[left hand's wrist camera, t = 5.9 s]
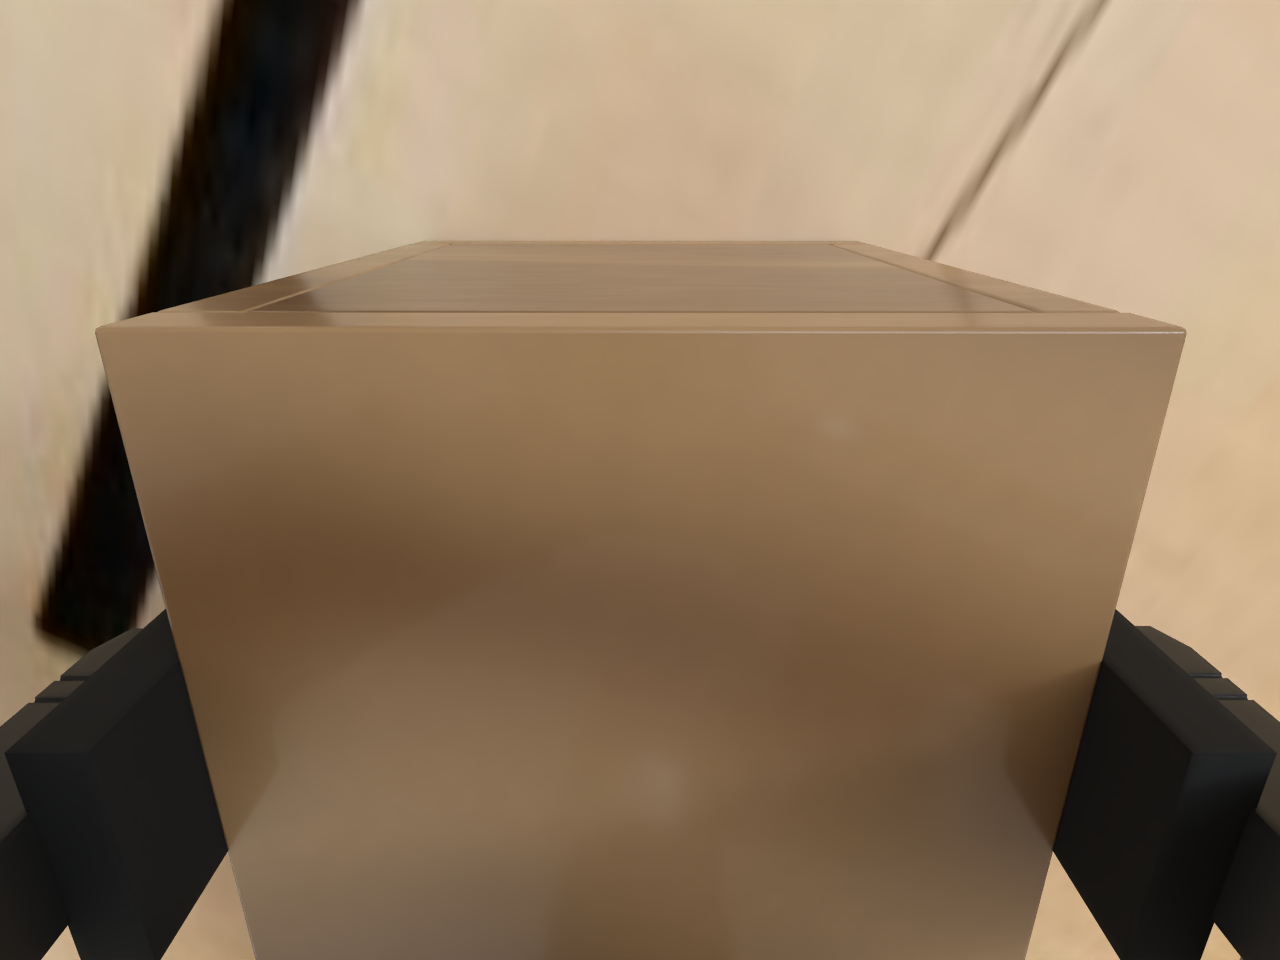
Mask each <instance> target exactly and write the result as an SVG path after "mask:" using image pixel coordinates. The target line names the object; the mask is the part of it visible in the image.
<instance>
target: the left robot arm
mask: <svg viewBox="0 0 1280 960" xmlns="http://www.w3.org/2000/svg"><path fill="white" fill-rule="evenodd" d="M227 852H228V849H227V845H226V841H225V837H224V833H223V829H222V825H221V821H220V817H219V813H218V810H217V806H216V802H215V798H214V794H213V790H212V786H211V782H210V778H209V774H208V771H207V767H206V763H205V759H204V755H203V751H202V747H201V743H200V739H199V735H198V732H197V728H196V724H195V720H194V716H193V712H192V708H191V704H190V700H189V696H188V693H187V689H186V685H185V681H184V677H183V673H182V669H181V665H180V661H179V658H178V654H177V650H176V646H175V642H174V638H173V634H172V630H171V626H170V622H169V619H168V615H167V611H166V609H165V610H164V611H163V612H161V613H160V614H159V615H158V616H157V617H156V618H155V619H154V620H153V621H151V622H150V623H149V624H148V625H147V626H146V627H145V628H144V629H130V630H128V631H126V632H124V633H123V634H121V635H119V636H117V637H115V638H113V639H111V640H109V641H107V642H106V643H104V644H102V645H100V646H98V647H96V648H94V649H92V650H91V651H89V652H88V653H87V654H86V655H85V656H84V657H82V658H81V659H80V660H79V661H78V662H76V663H75V664H74V665H73V666H72V667H71V668H69V669H68V670H67V671H66V672H65V673H63V674H62V675H61V679H60V681H54V682H53V683H52V684H50V685H49V686H48V687H47V688H46V689H45V690H43V691H42V692H41V693H40V694H39V695H37V696H36V697H35V702H34V703H28V704H27V705H26V706H24V707H23V708H22V709H21V710H20V711H19V712H17V713H16V714H15V715H14V716H13V717H11V718H10V719H9V720H8V721H7V722H6V723H4V724H3V725H2V726H1V727H0V960H41V959H42V958H43V957H44V955H45V954H46V953H47V951H48V950H49V949H50V948H51V946H52V945H53V944H54V942H55V941H56V940H57V938H58V937H59V936H60V935H61V933H62V932H63V931H64V929H65V928H66V927H67V926H68V927H69V929H70V932H71V935H72V937H73V940H74V943H75V945H76V948H77V951H78V954H79V956H80V959H81V960H161V958H162V957H163V955H164V953H165V952H166V950H167V948H168V947H169V945H170V944H171V942H172V940H173V939H174V937H175V936H176V934H177V932H178V931H179V929H180V927H181V926H182V924H183V923H184V921H185V919H186V918H187V916H188V915H189V913H190V911H191V910H192V908H193V906H194V905H195V903H196V902H197V900H198V898H199V897H200V895H201V894H202V892H203V890H204V889H205V887H206V885H207V884H208V882H209V881H210V879H211V877H212V876H213V874H214V873H215V871H216V869H217V868H218V866H219V864H220V863H221V861H222V860H223V858H224V856H225V855H226V853H227ZM1053 852H1054V853H1055V855H1056V857H1057V858H1058V860H1059V862H1060V863H1061V865H1062V866H1063V868H1064V870H1065V871H1066V873H1067V874H1068V876H1069V878H1070V879H1071V881H1072V882H1073V884H1074V886H1075V887H1076V889H1077V891H1078V892H1079V894H1080V895H1081V897H1082V899H1083V900H1084V902H1085V903H1086V905H1087V907H1088V908H1089V910H1090V912H1091V913H1092V915H1093V916H1094V918H1095V920H1096V921H1097V923H1098V924H1099V926H1100V928H1101V929H1102V931H1103V933H1104V934H1105V936H1106V937H1107V939H1108V941H1109V942H1110V944H1111V945H1112V947H1113V949H1114V950H1115V952H1116V954H1117V955H1118V957H1119V958H1120V960H1200V959H1201V957H1202V954H1203V951H1204V949H1205V946H1206V943H1207V940H1208V938H1209V935H1210V932H1211V930H1212V927H1213V924H1214V923H1215V924H1216V925H1217V926H1218V928H1219V929H1220V930H1221V932H1222V933H1223V934H1224V935H1225V937H1226V938H1227V939H1228V941H1229V942H1230V943H1231V944H1232V946H1233V947H1234V948H1235V950H1236V951H1237V952H1238V953H1239V955H1240V956H1241V958H1240V960H1280V722H1279V721H1278V720H1277V719H1275V718H1274V717H1273V716H1272V715H1271V714H1269V713H1268V712H1267V711H1266V710H1265V709H1263V708H1262V707H1261V706H1260V705H1259V704H1257V703H1256V702H1255V701H1254V700H1248V699H1247V694H1246V693H1244V692H1243V691H1242V690H1241V689H1240V688H1238V687H1237V686H1236V685H1235V684H1234V683H1232V682H1231V681H1230V680H1229V679H1228V678H1222V676H1221V672H1219V671H1218V670H1217V669H1216V668H1215V667H1213V666H1212V665H1211V664H1210V663H1209V662H1207V661H1206V660H1205V659H1204V658H1203V657H1202V656H1200V655H1199V654H1198V653H1197V652H1196V651H1194V650H1193V649H1192V648H1191V647H1189V646H1187V645H1185V644H1183V643H1181V642H1179V641H1177V640H1175V639H1174V638H1172V637H1170V636H1168V635H1166V634H1164V633H1162V632H1160V631H1158V630H1156V629H1155V628H1153V627H1151V626H1134V625H1133V624H1132V623H1131V622H1130V621H1128V620H1127V619H1126V618H1125V617H1124V616H1123V615H1122V614H1121V613H1119V612H1118V611H1117V610H1116V609H1115V612H1114V616H1113V620H1112V624H1111V628H1110V632H1109V635H1108V639H1107V643H1106V647H1105V651H1104V655H1103V659H1102V663H1101V666H1100V670H1099V674H1098V678H1097V682H1096V686H1095V690H1094V693H1093V697H1092V701H1091V705H1090V709H1089V713H1088V717H1087V721H1086V724H1085V728H1084V732H1083V736H1082V740H1081V744H1080V748H1079V752H1078V755H1077V759H1076V763H1075V767H1074V771H1073V775H1072V779H1071V783H1070V786H1069V790H1068V794H1067V798H1066V802H1065V806H1064V810H1063V814H1062V817H1061V821H1060V825H1059V829H1058V833H1057V837H1056V841H1055V844H1054V848H1053Z"/></svg>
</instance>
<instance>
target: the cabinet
mask: <svg viewBox="0 0 1280 960" xmlns="http://www.w3.org/2000/svg"><path fill="white" fill-rule="evenodd" d="M95 334H96V338H97V342H98V346H99V350H100V353H101V357H102V361H103V365H104V369H105V373H106V377H107V381H108V385H109V389H110V392H111V396H112V400H113V404H114V408H115V412H116V416H117V420H118V424H119V428H120V431H121V435H122V439H123V443H124V447H125V451H126V455H127V459H128V463H129V467H130V470H131V474H132V478H133V482H134V486H135V490H136V494H137V498H138V502H139V506H140V509H141V513H142V517H143V521H144V525H145V529H146V533H147V537H148V541H149V544H150V548H151V552H152V556H153V560H154V564H155V568H156V572H157V576H158V580H159V583H160V587H161V591H162V595H163V599H164V603H165V607H166V611H167V615H168V619H169V622H170V626H171V630H172V634H173V638H174V642H175V646H176V650H177V654H178V658H179V661H180V665H181V669H182V673H183V677H184V681H185V685H186V689H187V693H188V696H189V700H190V704H191V708H192V712H193V716H194V720H195V724H196V728H197V732H198V735H199V739H200V743H201V747H202V751H203V755H204V759H205V763H206V767H207V771H208V774H209V778H210V782H211V786H212V790H213V794H214V798H215V802H216V806H217V810H218V813H219V817H220V821H221V825H222V829H223V833H224V837H225V841H226V845H227V849H228V852H229V856H230V860H231V864H232V868H233V872H234V876H235V880H236V884H237V887H238V891H239V895H240V899H241V903H242V907H243V911H244V915H245V919H246V923H247V926H248V930H249V934H250V938H251V942H252V946H253V950H254V954H255V958H256V960H1025V957H1026V953H1027V949H1028V945H1029V941H1030V937H1031V934H1032V930H1033V926H1034V922H1035V918H1036V914H1037V910H1038V906H1039V903H1040V899H1041V895H1042V891H1043V887H1044V883H1045V879H1046V875H1047V872H1048V868H1049V864H1050V860H1051V856H1052V852H1053V848H1054V844H1055V841H1056V837H1057V833H1058V829H1059V825H1060V821H1061V817H1062V814H1063V810H1064V806H1065V802H1066V798H1067V794H1068V790H1069V786H1070V783H1071V779H1072V775H1073V771H1074V767H1075V763H1076V759H1077V755H1078V752H1079V748H1080V744H1081V740H1082V736H1083V732H1084V728H1085V724H1086V721H1087V717H1088V713H1089V709H1090V705H1091V701H1092V697H1093V693H1094V690H1095V686H1096V682H1097V678H1098V674H1099V670H1100V666H1101V663H1102V659H1103V655H1104V651H1105V647H1106V643H1107V639H1108V635H1109V632H1110V628H1111V624H1112V620H1113V616H1114V612H1115V608H1116V604H1117V601H1118V597H1119V593H1120V589H1121V585H1122V581H1123V577H1124V573H1125V570H1126V566H1127V562H1128V558H1129V554H1130V550H1131V546H1132V542H1133V539H1134V535H1135V531H1136V527H1137V523H1138V519H1139V515H1140V512H1141V508H1142V504H1143V500H1144V496H1145V492H1146V488H1147V484H1148V481H1149V477H1150V473H1151V469H1152V465H1153V461H1154V457H1155V453H1156V450H1157V446H1158V442H1159V438H1160V434H1161V430H1162V426H1163V422H1164V419H1165V415H1166V411H1167V407H1168V403H1169V399H1170V395H1171V391H1172V388H1173V384H1174V380H1175V376H1176V372H1177V368H1178V364H1179V361H1180V357H1181V353H1182V349H1183V345H1184V341H1185V337H1186V330H1185V329H1184V328H1182V327H1179V326H1176V325H1172V324H1168V323H1164V322H1161V321H1157V320H1153V319H1149V318H1146V317H1142V316H1138V315H1134V314H1131V313H1120V312H1118V311H1115V310H1112V309H1108V308H1104V307H1101V306H1097V305H1093V304H1089V303H1086V302H1082V301H1078V300H1074V299H1071V298H1067V297H1063V296H1059V295H1056V294H1052V293H1048V292H1045V291H1041V290H1037V289H1033V288H1030V287H1026V286H1022V285H1018V284H1015V283H1011V282H1007V281H1003V280H1000V279H996V278H992V277H989V276H985V275H981V274H977V273H974V272H970V271H966V270H962V269H959V268H955V267H951V266H947V265H944V264H940V263H936V262H933V261H929V260H925V259H921V258H918V257H914V256H910V255H906V254H903V253H899V252H895V251H891V250H888V249H884V248H880V247H877V246H873V245H869V244H865V243H861V242H858V241H423V242H419V243H415V244H410V245H406V246H402V247H398V248H395V249H391V250H387V251H383V252H380V253H376V254H372V255H368V256H365V257H361V258H357V259H353V260H349V261H346V262H342V263H338V264H334V265H331V266H327V267H323V268H319V269H316V270H312V271H308V272H304V273H301V274H297V275H293V276H289V277H285V278H282V279H278V280H274V281H270V282H267V283H263V284H259V285H255V286H252V287H248V288H244V289H240V290H237V291H233V292H229V293H225V294H221V295H218V296H214V297H210V298H206V299H203V300H199V301H195V302H191V303H188V304H184V305H180V306H176V307H173V308H169V309H165V310H161V311H159V312H157V313H149V314H145V315H142V316H138V317H134V318H130V319H127V320H123V321H119V322H115V323H112V324H108V325H104V326H101V327H98V328H97V329H96V332H95Z"/></svg>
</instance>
